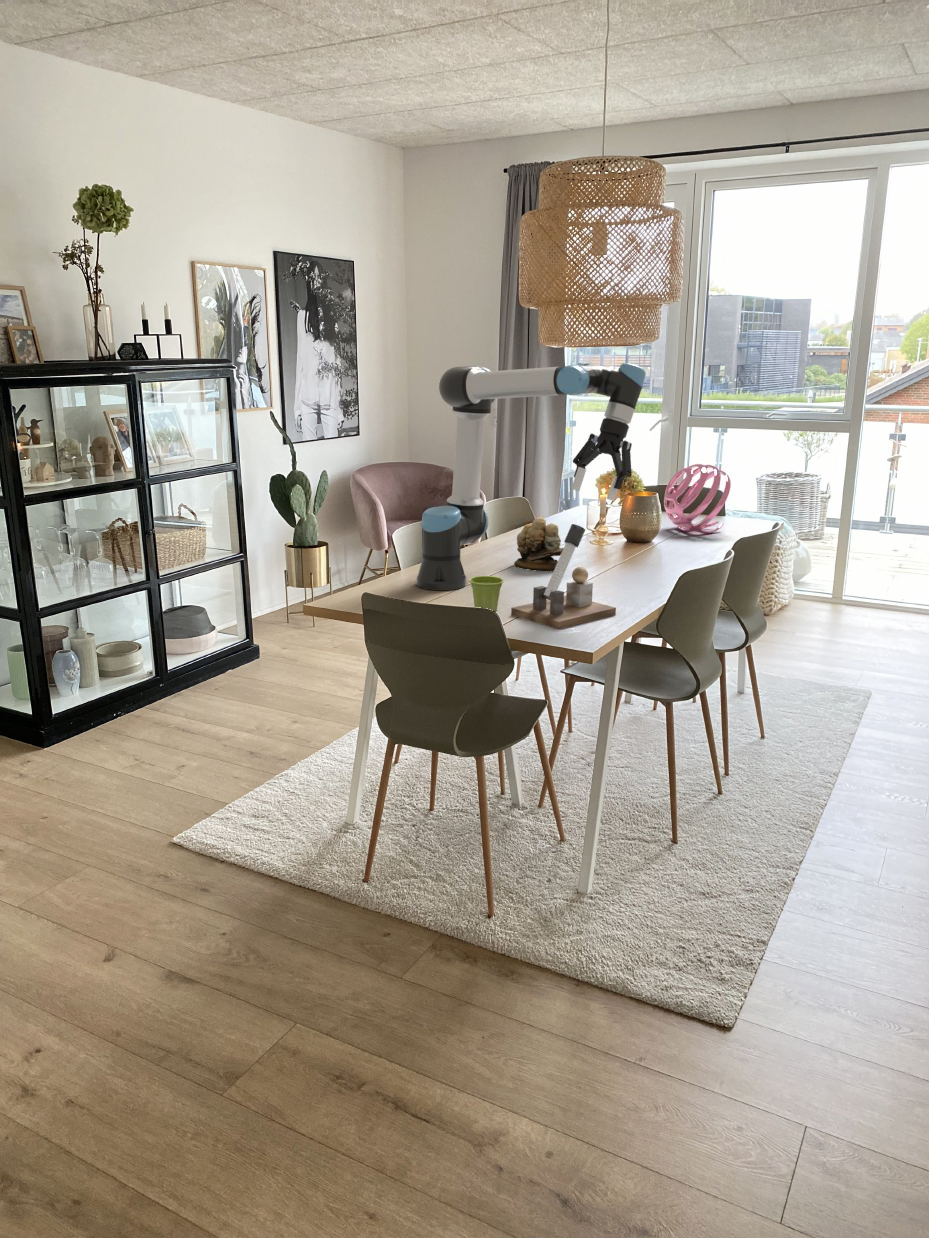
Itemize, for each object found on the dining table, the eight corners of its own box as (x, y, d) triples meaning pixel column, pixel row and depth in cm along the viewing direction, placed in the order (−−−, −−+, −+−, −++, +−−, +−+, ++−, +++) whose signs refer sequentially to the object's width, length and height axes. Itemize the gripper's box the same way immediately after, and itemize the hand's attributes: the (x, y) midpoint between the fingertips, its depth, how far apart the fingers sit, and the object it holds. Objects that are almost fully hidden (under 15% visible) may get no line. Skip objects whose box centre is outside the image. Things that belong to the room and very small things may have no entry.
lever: (537, 595, 251) (568, 523, 253) (546, 600, 254) (577, 529, 256) (548, 597, 248) (579, 525, 250) (557, 603, 251) (588, 531, 253)
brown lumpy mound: (571, 567, 314) (573, 516, 310) (556, 574, 305) (558, 522, 300) (523, 560, 323) (524, 511, 318) (507, 567, 313) (507, 516, 309)
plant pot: (502, 605, 265) (502, 575, 263) (504, 614, 256) (504, 583, 254) (468, 605, 265) (468, 575, 263) (469, 614, 256) (470, 583, 254)
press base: (511, 614, 256) (511, 586, 254) (567, 601, 270) (568, 574, 268) (558, 629, 243) (559, 599, 241) (615, 614, 256) (617, 586, 254)
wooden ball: (568, 582, 258) (568, 566, 257) (579, 580, 261) (579, 564, 260) (580, 585, 255) (580, 569, 254) (591, 583, 258) (591, 567, 256)
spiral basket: (738, 478, 386) (689, 441, 377) (760, 504, 362) (709, 466, 353) (691, 529, 397) (643, 495, 387) (710, 558, 372) (660, 522, 363)
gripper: (659, 431, 254) (634, 507, 257) (592, 418, 272) (569, 489, 275) (643, 424, 249) (617, 501, 252) (575, 411, 267) (552, 483, 270)
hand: (592, 495), depth 263 cm, fingers open, 13 cm apart
